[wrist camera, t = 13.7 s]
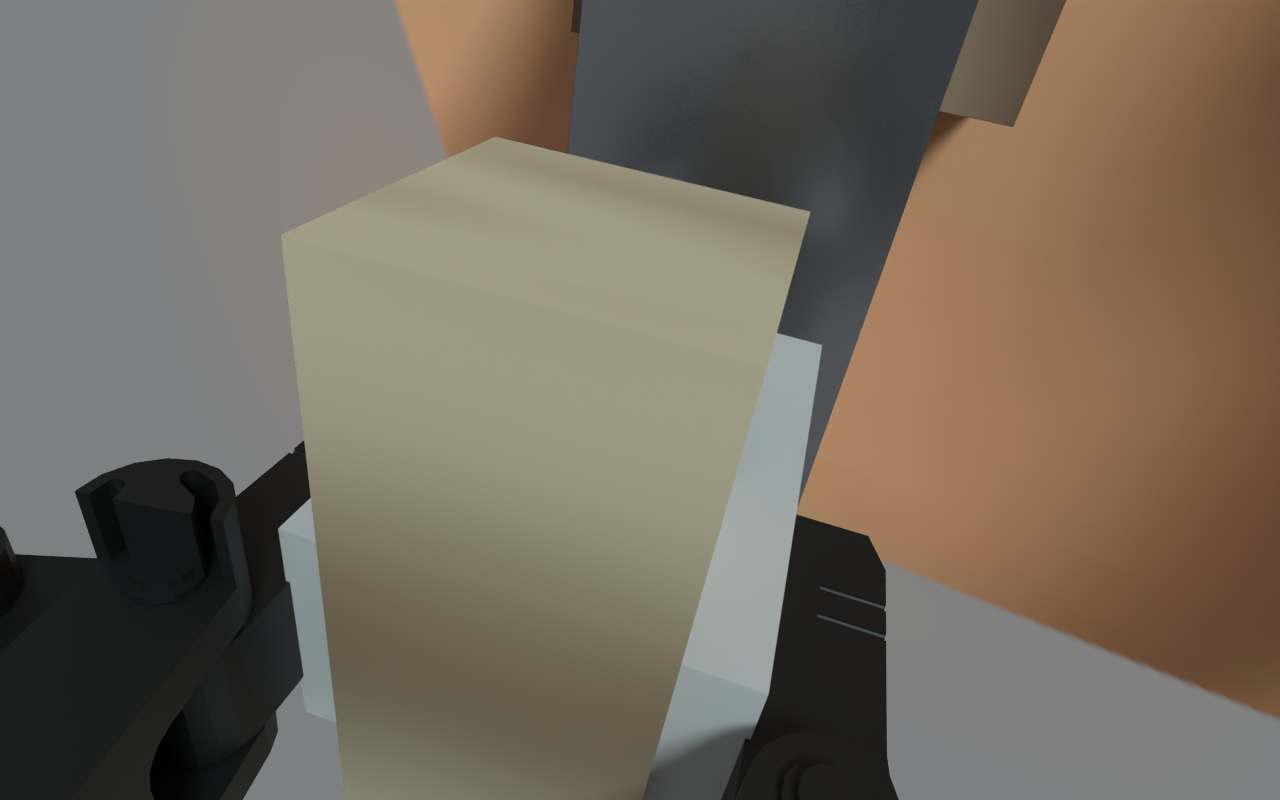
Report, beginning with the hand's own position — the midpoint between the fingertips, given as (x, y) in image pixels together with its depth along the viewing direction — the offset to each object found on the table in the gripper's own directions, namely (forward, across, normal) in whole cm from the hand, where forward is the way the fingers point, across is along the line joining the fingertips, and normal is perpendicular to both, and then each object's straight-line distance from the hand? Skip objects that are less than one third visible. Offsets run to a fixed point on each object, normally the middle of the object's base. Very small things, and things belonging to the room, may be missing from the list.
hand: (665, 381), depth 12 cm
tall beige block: (+3, 0, +1) cm, 3 cm away
